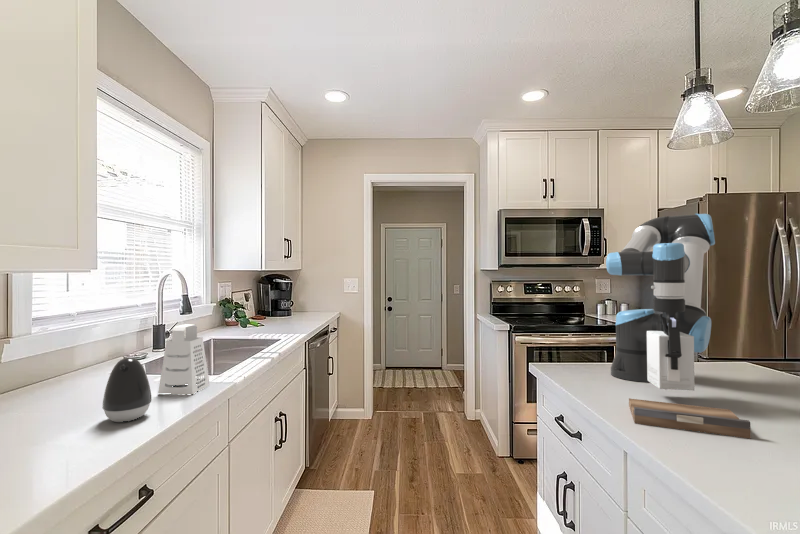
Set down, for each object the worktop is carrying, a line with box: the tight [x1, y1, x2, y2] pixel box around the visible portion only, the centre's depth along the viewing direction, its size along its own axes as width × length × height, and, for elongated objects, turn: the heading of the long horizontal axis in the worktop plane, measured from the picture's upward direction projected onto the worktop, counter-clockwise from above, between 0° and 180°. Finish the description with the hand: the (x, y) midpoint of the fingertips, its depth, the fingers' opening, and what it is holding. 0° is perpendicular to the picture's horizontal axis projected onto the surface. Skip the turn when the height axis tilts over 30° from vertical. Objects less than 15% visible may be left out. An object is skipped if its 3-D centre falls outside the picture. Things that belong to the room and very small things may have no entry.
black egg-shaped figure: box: [101, 357, 152, 423], centre depth 102 cm, size 10×10×15 cm
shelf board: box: [628, 397, 751, 439], centre depth 100 cm, size 14×22×4 cm, turn 66°
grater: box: [157, 323, 211, 395], centre depth 127 cm, size 10×10×20 cm
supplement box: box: [647, 331, 695, 392], centre depth 116 cm, size 9×9×15 cm
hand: (670, 375), depth 116 cm, fingers closed on supplement box, 10 cm apart
